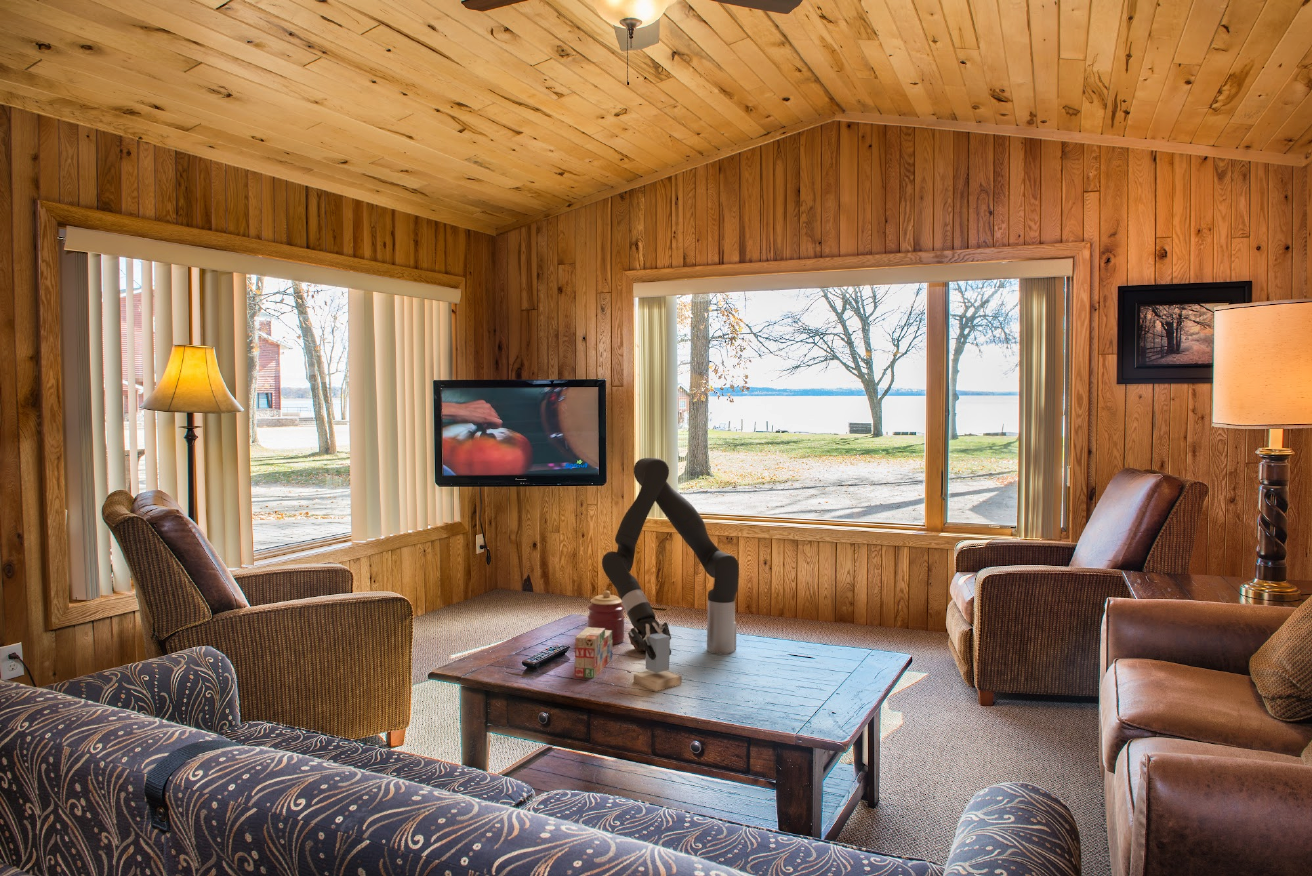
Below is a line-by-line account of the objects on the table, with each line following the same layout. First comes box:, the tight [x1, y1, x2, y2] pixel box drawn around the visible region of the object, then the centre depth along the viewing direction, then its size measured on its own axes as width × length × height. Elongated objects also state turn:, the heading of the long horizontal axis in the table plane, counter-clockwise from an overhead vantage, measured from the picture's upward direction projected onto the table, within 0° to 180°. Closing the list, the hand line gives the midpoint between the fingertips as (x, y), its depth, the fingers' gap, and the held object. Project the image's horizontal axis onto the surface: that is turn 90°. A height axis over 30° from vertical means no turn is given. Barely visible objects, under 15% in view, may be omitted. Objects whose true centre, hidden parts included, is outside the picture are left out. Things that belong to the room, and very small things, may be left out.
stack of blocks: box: [574, 626, 613, 679], centre depth 261 cm, size 21×6×12 cm, turn 168°
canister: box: [587, 590, 626, 646], centre depth 292 cm, size 13×13×18 cm
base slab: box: [633, 669, 682, 692], centre depth 247 cm, size 10×10×3 cm
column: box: [645, 633, 671, 673], centre depth 246 cm, size 5×5×10 cm
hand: (661, 656), depth 245 cm, fingers closed on column, 5 cm apart
